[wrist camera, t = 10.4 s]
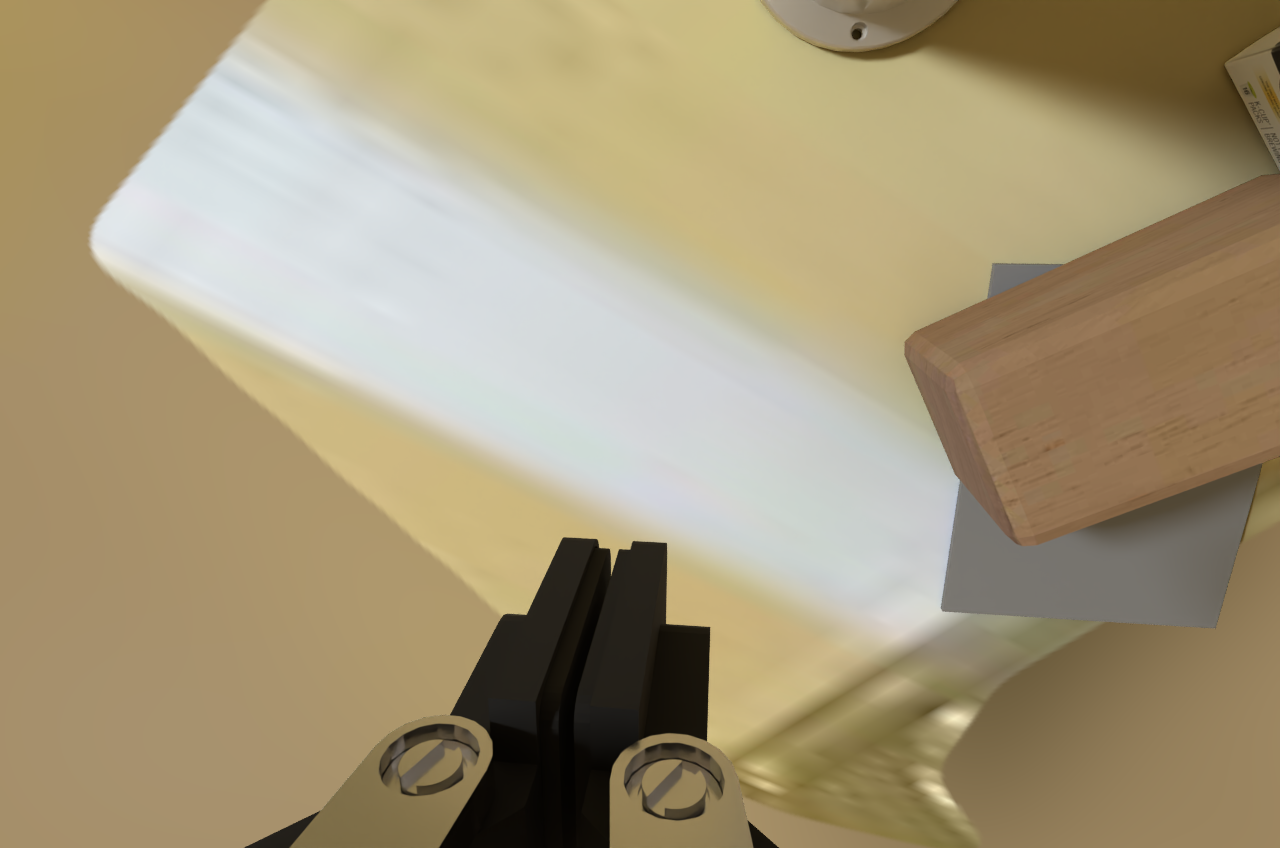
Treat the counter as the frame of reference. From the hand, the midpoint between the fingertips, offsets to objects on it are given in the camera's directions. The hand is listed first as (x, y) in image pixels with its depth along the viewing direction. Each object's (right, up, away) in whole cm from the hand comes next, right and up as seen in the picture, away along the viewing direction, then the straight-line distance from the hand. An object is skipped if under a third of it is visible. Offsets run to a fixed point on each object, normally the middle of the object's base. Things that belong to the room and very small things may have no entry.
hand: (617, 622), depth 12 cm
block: (+17, +2, +27) cm, 31 cm away
